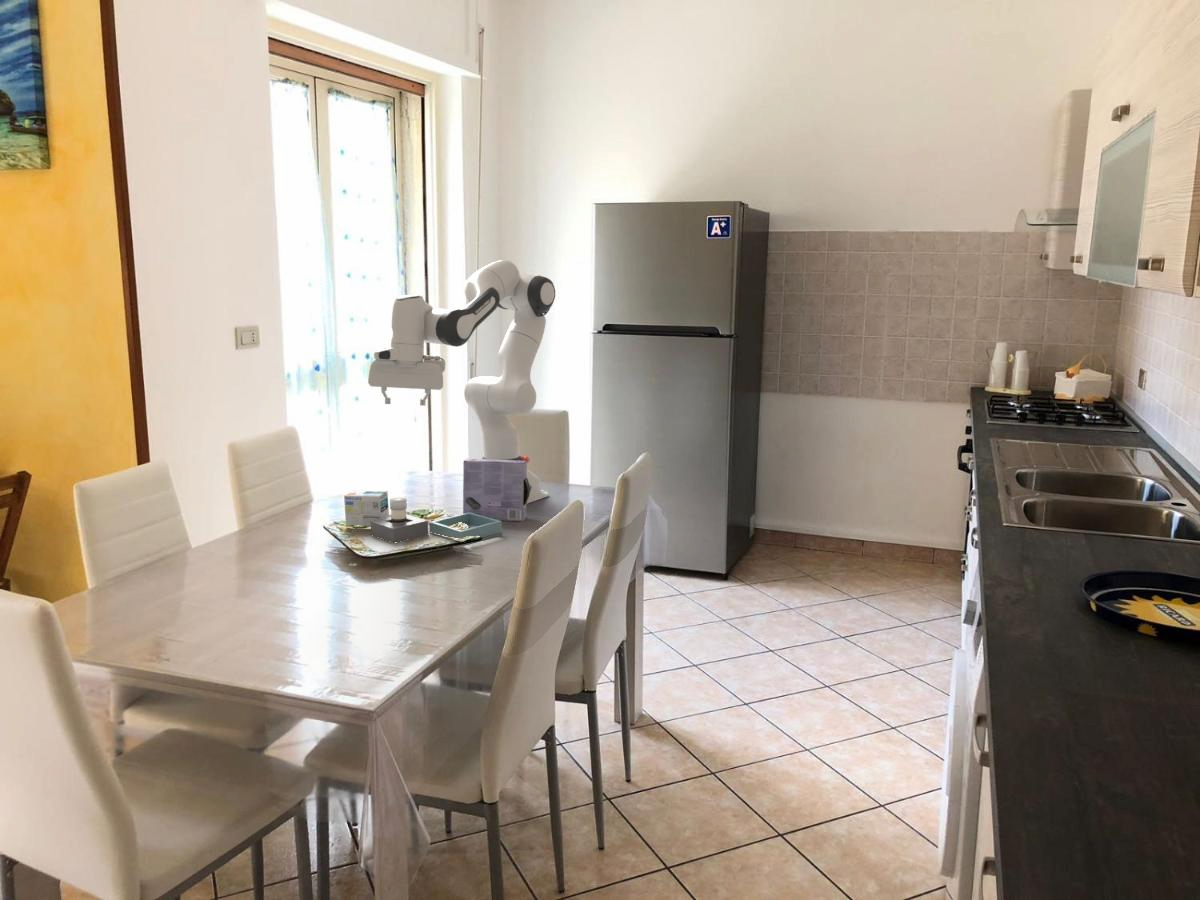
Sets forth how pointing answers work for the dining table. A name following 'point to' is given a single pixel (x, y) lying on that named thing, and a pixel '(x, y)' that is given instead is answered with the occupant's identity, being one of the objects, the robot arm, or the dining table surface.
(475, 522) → the parts tray
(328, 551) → the dining table surface
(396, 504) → the white light bulb
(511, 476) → the cake pan box
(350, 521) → the light bulb box
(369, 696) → the dining table surface
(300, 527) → the dining table surface
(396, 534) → the bulb socket block
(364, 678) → the dining table surface
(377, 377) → the robot arm
